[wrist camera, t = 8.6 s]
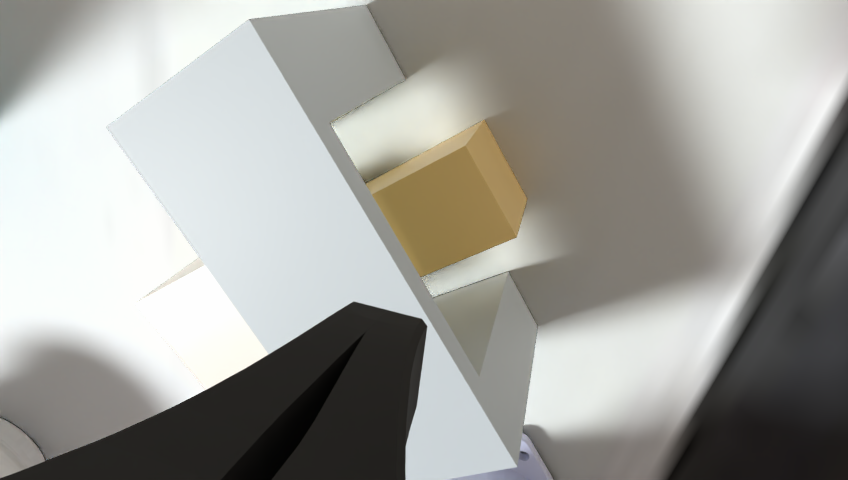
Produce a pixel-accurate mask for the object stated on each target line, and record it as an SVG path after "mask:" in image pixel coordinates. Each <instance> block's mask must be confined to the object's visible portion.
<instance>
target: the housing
mask: <svg viewBox="0 0 848 480" xmlns="http://www.w3.org/2000/svg"><path fill="white" fill-rule="evenodd" d="M404 80H406V79H405V77H404V75H403V73H402V71H401V69H400V67H399V66H398V64H397V62H396V60H395V58H394V56H393V54H392V52H391V51H390V49H389V47H388V45H387V43H386V41H385V39H384V37H383V36H382V34H381V32H380V30H379V28H378V26H377V24H376V22H375V21H374V19H373V17H372V15H371V13H370V11H369V9H368V7H367V6H366V5H360V6H352V7H344V8H336V9H328V10H320V11H312V12H304V13H296V14H288V15H280V16H271V17H263V18H255V19H249V20H247V21H246V22H245V23H243V24H242V25H241V26H239V27H238V28H237V29H235V30H234V31H233V32H231V33H230V34H229V35H227V36H226V37H225V38H223V39H222V40H221V41H219V42H218V43H217V44H215V45H214V46H213V47H211V48H210V49H209V50H208V51H206V52H205V53H204V54H202V55H201V56H200V57H198V58H197V59H196V60H194V61H193V62H192V63H190V64H189V65H188V66H186V67H185V68H184V69H182V70H181V71H180V72H178V73H177V74H176V75H174V76H173V77H172V78H170V79H169V80H168V81H166V82H165V83H164V84H162V85H161V86H160V87H158V88H157V89H156V90H154V91H153V92H152V93H150V94H149V95H148V96H146V97H145V98H144V99H143V100H141V101H140V102H139V103H137V104H136V105H135V106H133V107H132V108H131V109H129V110H128V111H127V112H125V113H124V114H123V115H121V116H120V117H119V118H117V119H116V120H115V121H113V122H112V123H111V124H109V125H108V126H107V127H106V128H107V129H108V131H109V132H110V133H111V135H112V136H113V138H114V139H115V140H116V142H117V143H118V145H119V146H120V147H121V149H122V150H123V152H124V153H125V154H126V156H127V157H128V159H129V160H130V161H131V163H132V164H133V166H134V167H135V168H136V170H137V171H138V173H139V174H140V175H141V177H142V178H143V179H144V181H145V182H146V184H147V185H148V186H149V188H150V189H151V191H152V192H153V193H154V195H155V196H156V198H157V199H158V200H159V202H160V203H161V205H162V206H163V207H164V209H165V210H166V212H167V213H168V214H169V216H170V217H171V219H172V220H173V221H174V223H175V224H176V226H177V227H178V228H179V230H180V231H181V233H182V234H183V235H184V237H185V238H186V240H187V241H188V242H189V244H190V245H191V246H192V248H193V249H194V251H195V252H196V253H197V255H198V256H199V258H200V259H201V260H202V262H203V263H204V265H205V266H206V267H207V269H208V270H209V272H210V273H211V274H212V276H213V277H214V279H215V280H216V281H217V283H218V284H219V286H220V287H221V288H222V290H223V291H224V293H225V294H226V295H227V297H228V298H229V300H230V301H231V302H232V304H233V305H234V307H235V308H236V309H237V311H238V312H239V313H240V315H241V316H242V318H243V319H244V320H245V322H246V323H247V325H248V326H249V327H250V329H251V330H252V332H253V333H254V334H255V336H256V337H257V339H258V340H259V341H260V343H261V344H262V346H263V347H264V348H265V350H266V351H267V353H268V354H270V353H272V352H273V351H275V350H277V349H278V348H280V347H282V346H283V345H285V344H286V343H288V342H290V341H291V340H293V339H295V338H296V337H298V336H299V335H301V334H302V333H304V332H306V331H307V330H309V329H310V328H312V327H313V326H315V325H317V324H318V323H320V322H321V321H323V320H324V319H326V318H327V317H329V316H331V315H332V314H334V313H335V312H337V311H339V310H340V309H342V308H344V307H345V306H347V305H349V304H350V303H352V302H353V301H354V302H358V303H362V304H366V305H370V306H374V307H378V308H382V309H386V310H389V311H393V312H397V313H401V314H405V315H409V316H413V317H417V318H421V319H422V320H423V321H424V322H425V324H426V325H427V333H426V341H425V348H424V356H423V364H422V371H421V379H420V386H419V394H418V401H417V407H416V411H415V414H414V417H413V421H412V424H411V428H410V431H409V435H408V439H407V444H406V461H405V475H406V480H446V479H452V478H457V477H463V476H469V475H475V474H481V473H486V472H492V471H498V470H504V469H509V468H515V467H518V460H519V453H520V446H521V439H522V432H523V426H524V419H525V412H526V405H527V398H528V391H529V384H530V378H531V371H532V364H533V357H534V350H535V343H536V336H537V330H538V326H537V324H536V322H535V321H534V319H533V317H532V315H531V313H530V311H529V309H528V307H527V306H526V304H525V302H524V300H523V298H522V296H521V294H520V292H519V291H518V289H517V287H516V285H515V283H514V281H513V279H512V277H511V276H510V274H509V272H506V273H503V274H500V275H497V276H494V277H491V278H488V279H486V280H483V281H480V282H477V283H474V284H471V285H469V286H466V287H463V288H460V289H457V290H454V291H451V292H449V293H446V294H443V295H440V296H437V297H434V298H432V296H431V294H430V293H429V291H428V289H427V287H426V286H425V284H424V282H423V281H422V279H421V277H420V276H419V274H418V272H417V271H416V269H415V267H414V265H413V264H412V262H411V260H410V259H409V257H408V255H407V254H406V252H405V250H404V248H403V247H402V245H401V243H400V242H399V240H398V238H397V237H396V235H395V233H394V231H393V230H392V228H391V226H390V225H389V223H388V221H387V220H386V218H385V216H384V215H383V213H382V211H381V209H380V208H379V206H378V204H377V203H376V201H375V199H374V198H373V196H372V194H371V192H370V191H369V189H368V187H367V186H366V184H365V182H364V181H363V179H362V177H361V175H360V174H359V172H358V170H357V169H356V167H355V165H354V164H353V162H352V160H351V159H350V157H349V155H348V153H347V152H346V150H345V148H344V147H343V145H342V143H341V142H340V140H339V138H338V136H337V135H336V133H335V131H334V130H333V128H332V126H331V125H330V123H331V122H333V121H334V120H336V119H338V118H340V117H341V116H343V115H345V114H347V113H348V112H350V111H352V110H354V109H355V108H357V107H359V106H360V105H362V104H364V103H366V102H367V101H369V100H371V99H373V98H374V97H376V96H378V95H380V94H381V93H383V92H385V91H386V90H388V89H390V88H392V87H393V86H395V85H397V84H399V83H400V82H402V81H404Z"/></svg>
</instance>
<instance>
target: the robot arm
mask: <svg viewBox="0 0 848 480" xmlns="http://www.w3.org/2000/svg"><path fill="white" fill-rule="evenodd" d="M426 333H427V325H426V324H425V322H424V321H423V320H422V319H421V318H417V317H413V316H409V315H405V314H401V313H397V312H393V311H389V310H386V309H382V308H378V307H374V306H370V305H366V304H362V303H358V302H354V301H353V302H352V303H350V304H349V305H347V306H345V307H344V308H342V309H340V310H339V311H337V312H335V313H334V314H332V315H331V316H329V317H327V318H326V319H324V320H323V321H321V322H320V323H318V324H317V325H315V326H313V327H312V328H310V329H309V330H307V331H306V332H304V333H302V334H301V335H299V336H298V337H296V338H295V339H293V340H291V341H290V342H288V343H286V344H285V345H283V346H282V347H280V348H278V349H277V350H275V351H273V352H272V353H270V354H268V355H267V356H265V357H263V358H262V359H260V360H258V361H257V362H255V363H253V364H252V365H250V366H248V367H247V368H245V369H243V370H241V371H239V372H238V373H236V374H234V375H232V376H230V377H229V378H227V379H225V380H223V381H221V382H219V383H218V384H216V385H214V386H212V387H210V388H208V389H207V390H205V391H203V392H201V393H199V394H198V395H196V396H194V397H192V398H190V399H188V400H186V401H184V402H182V403H180V404H178V405H176V406H174V407H172V408H170V409H167V410H165V411H163V412H161V413H159V414H157V415H155V416H153V417H150V418H148V419H146V420H144V421H142V422H139V423H137V424H135V425H133V426H131V427H128V428H126V429H124V430H122V431H119V432H117V433H115V434H113V435H110V436H108V437H106V438H103V439H101V440H98V441H96V442H93V443H91V444H88V445H86V446H83V447H80V448H78V449H75V450H73V451H70V452H68V453H65V454H62V455H60V456H57V457H55V458H52V459H50V460H47V461H44V462H42V463H39V464H37V465H34V466H31V467H29V468H26V469H24V470H21V471H19V472H16V473H13V474H11V475H8V476H5V477H2V478H0V480H406V475H405V461H406V444H407V439H408V435H409V431H410V428H411V424H412V421H413V417H414V414H415V411H416V407H417V401H418V394H419V386H420V379H421V371H422V364H423V356H424V348H425V341H426ZM520 451H524V452H526V453H521V452H520V453H519V460H518V467H515V468H509V469H504V470H498V471H492V472H486V473H481V474H475V475H469V476H463V477H457V478H452V479H446V480H553V478H552V476H551V474H550V473H549V471H548V469H547V467H546V466H545V464H544V462H543V461H542V459H541V457H540V455H539V454H538V452H537V450H536V448H535V447H534V445H533V443H532V442H531V440H530V438H529V437H528V436H527V435H525V434H524V433H522V439H521V446H520Z"/></svg>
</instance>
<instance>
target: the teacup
mask: <svg viewBox="0 0 848 480" xmlns="http://www.w3.org/2000/svg"><path fill="white" fill-rule="evenodd" d="M44 461H45V459H44V456H43V455H42V453H41V451H40V450H39V448H38V447H37V445H36V444H35V443H34V442H33V441H32V440H31V439H30V438H29V437H28V436H27V435H26V434H25V433H24V432H23V431H22V430H20V429H19V428H17V427H16V426H15V425H13V424H11V423H10V422H8V421H6V420H4V419H2V418H0V478H2V477H5V476H8V475H11V474H13V473H16V472H19V471H21V470H24V469H26V468H29V467H31V466H34V465H37V464H39V463H42V462H44Z"/></svg>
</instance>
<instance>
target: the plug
mask: <svg viewBox="0 0 848 480" xmlns="http://www.w3.org/2000/svg"><path fill="white" fill-rule="evenodd" d="M366 186H367V187H368V189H369V191H370V192H371V194H372V196H373V198H374V199H375V201H376V203H377V204H378V206H379V208H380V209H381V211H382V213H383V215H384V216H385V218H386V220H387V221H388V223H389V225H390V226H391V228H392V230H393V231H394V233H395V235H396V237H397V238H398V240H399V242H400V243H401V245H402V247H403V248H404V250H405V252H406V254H407V255H408V257H409V259H410V260H411V262H412V264H413V265H414V267H415V269H416V271H417V272H418V274H419V276H420V277H422V276H424V275H427V274H429V273H432V272H434V271H437V270H439V269H441V268H444V267H446V266H449V265H451V264H453V263H456V262H458V261H461V260H463V259H466V258H468V257H470V256H473V255H475V254H478V253H480V252H482V251H485V250H487V249H490V248H492V247H494V246H497V245H499V244H502V243H504V242H507V241H509V240H511V239H514V238H516V237H517V235H518V231H519V227H520V224H521V220H522V216H523V213H524V209H525V206H526V202H527V198H526V196H525V194H524V192H523V190H522V188H521V187H520V185H519V183H518V181H517V179H516V177H515V176H514V174H513V172H512V170H511V168H510V166H509V164H508V163H507V161H506V159H505V157H504V155H503V153H502V152H501V150H500V148H499V146H498V144H497V142H496V140H495V139H494V137H493V135H492V133H491V131H490V129H489V128H488V126H487V124H486V122H485V120H483V121H481V122H479V123H477V124H475V125H474V126H472V127H470V128H468V129H466V130H464V131H462V132H461V133H459V134H457V135H455V136H453V137H451V138H449V139H448V140H446V141H444V142H442V143H440V144H438V145H436V146H435V147H433V148H431V149H429V150H427V151H425V152H423V153H422V154H420V155H418V156H416V157H414V158H412V159H410V160H409V161H407V162H405V163H403V164H401V165H399V166H397V167H396V168H394V169H392V170H390V171H388V172H386V173H384V174H383V175H381V176H379V177H377V178H375V179H373V180H371V181H370V182H368V183H366ZM135 304H136V305H137V307H138V308H139V309H140V310H141V312H142V313H143V314H144V315H145V316H146V318H147V319H148V320H149V321H150V323H151V324H152V325H153V326H154V328H155V329H156V330H157V331H158V332H159V334H160V335H161V336H162V337H163V339H164V340H165V341H166V342H167V344H168V345H169V346H170V347H171V349H172V350H173V351H174V352H175V353H176V355H177V356H178V357H179V358H180V360H181V361H182V362H183V363H184V365H185V366H186V367H187V368H188V369H189V371H190V372H191V373H192V374H193V376H194V377H195V378H196V379H197V381H198V382H199V383H200V384H201V386H202V387H203V388H204V389H205V390H207V389H208V388H210V387H212V386H214V385H216V384H218V383H219V382H221V381H223V380H225V379H227V378H229V377H230V376H232V375H234V374H236V373H238V372H239V371H241V370H243V369H245V368H247V367H248V366H250V365H252V364H253V363H255V362H257V361H258V360H260V359H262V358H263V357H265V356H267V355H268V353H267V351H266V350H265V348H264V347H263V346H262V344H261V343H260V341H259V340H258V339H257V337H256V336H255V334H254V333H253V332H252V330H251V329H250V327H249V326H248V325H247V323H246V322H245V320H244V319H243V318H242V316H241V315H240V313H239V312H238V311H237V309H236V308H235V307H234V305H233V304H232V302H231V301H230V300H229V298H228V297H227V295H226V294H225V293H224V291H223V290H222V288H221V287H220V286H219V284H218V283H217V281H216V280H215V279H214V277H213V276H212V274H211V273H210V272H209V270H208V269H207V267H206V266H205V265H204V263H203V262H202V260H201V259H200V258H197V259H196V260H195V261H193V262H192V263H190V264H189V265H188V266H186V267H185V268H184V269H182V270H181V271H179V272H178V273H177V274H175V275H174V276H172V277H171V278H170V279H168V280H167V281H165V282H164V283H163V284H161V285H160V286H158V287H157V288H156V289H154V290H153V291H152V292H150V293H149V294H147V295H146V296H145V297H143V298H142V299H140V300H139V301H138V302H136V303H135Z"/></svg>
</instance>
